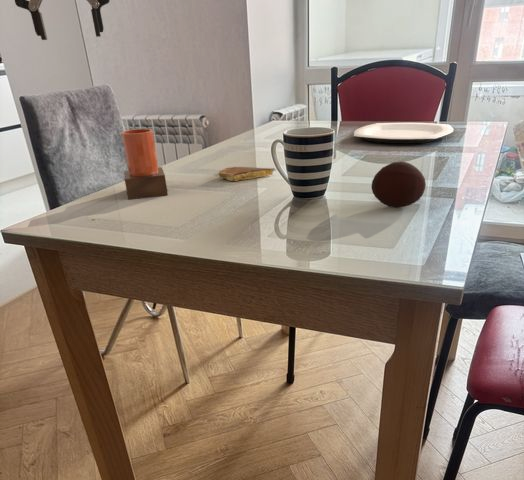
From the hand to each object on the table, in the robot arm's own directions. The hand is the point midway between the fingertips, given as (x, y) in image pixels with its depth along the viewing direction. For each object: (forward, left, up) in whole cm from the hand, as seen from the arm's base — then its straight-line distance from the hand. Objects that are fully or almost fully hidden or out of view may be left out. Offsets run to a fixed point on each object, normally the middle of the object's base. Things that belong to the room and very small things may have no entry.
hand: (71, 38), depth 83 cm
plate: (+82, +39, -28) cm, 95 cm away
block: (+8, +9, -28) cm, 31 cm away
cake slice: (+30, +14, -28) cm, 44 cm away
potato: (+50, -21, -28) cm, 61 cm away
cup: (+8, +9, -24) cm, 27 cm away
